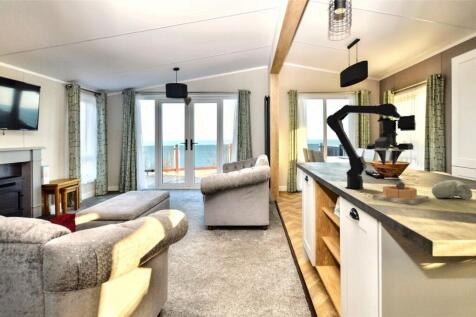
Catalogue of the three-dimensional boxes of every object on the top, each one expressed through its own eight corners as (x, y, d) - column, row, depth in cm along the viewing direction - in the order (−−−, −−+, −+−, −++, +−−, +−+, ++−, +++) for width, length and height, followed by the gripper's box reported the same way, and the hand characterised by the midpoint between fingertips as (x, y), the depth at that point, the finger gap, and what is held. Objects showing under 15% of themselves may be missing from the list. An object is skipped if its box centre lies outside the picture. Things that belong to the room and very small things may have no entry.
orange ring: (378, 195, 114) (378, 187, 113) (392, 191, 120) (392, 184, 120) (407, 199, 105) (407, 191, 104) (420, 195, 111) (420, 188, 111)
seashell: (437, 181, 108) (430, 175, 118) (434, 200, 110) (427, 193, 119) (477, 185, 104) (466, 178, 113) (473, 205, 106) (463, 197, 115)
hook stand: (373, 198, 114) (373, 181, 114) (389, 194, 122) (389, 178, 121) (412, 205, 102) (413, 186, 102) (428, 200, 109) (428, 182, 109)
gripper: (360, 132, 131) (359, 165, 132) (401, 130, 116) (401, 167, 117) (373, 132, 137) (372, 163, 138) (414, 130, 122) (413, 166, 123)
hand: (388, 165), depth 129 cm, fingers open, 4 cm apart
